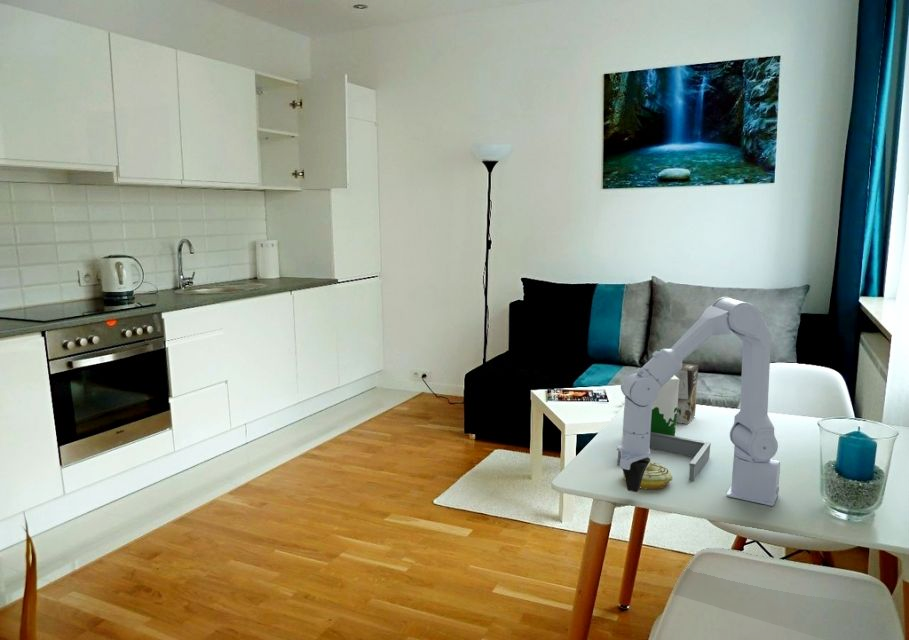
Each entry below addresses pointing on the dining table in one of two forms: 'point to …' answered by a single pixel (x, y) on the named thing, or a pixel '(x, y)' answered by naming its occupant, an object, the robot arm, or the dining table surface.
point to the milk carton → (665, 408)
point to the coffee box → (687, 392)
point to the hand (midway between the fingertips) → (633, 490)
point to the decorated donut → (655, 476)
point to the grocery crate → (681, 450)
